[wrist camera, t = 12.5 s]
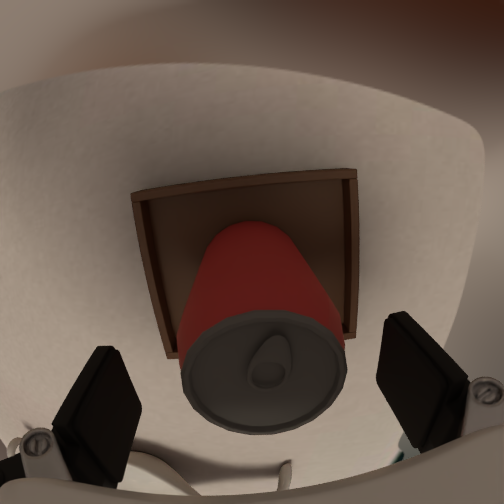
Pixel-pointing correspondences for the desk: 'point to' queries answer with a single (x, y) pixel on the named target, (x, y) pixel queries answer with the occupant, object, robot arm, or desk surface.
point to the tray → (249, 209)
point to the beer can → (259, 335)
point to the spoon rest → (169, 477)
